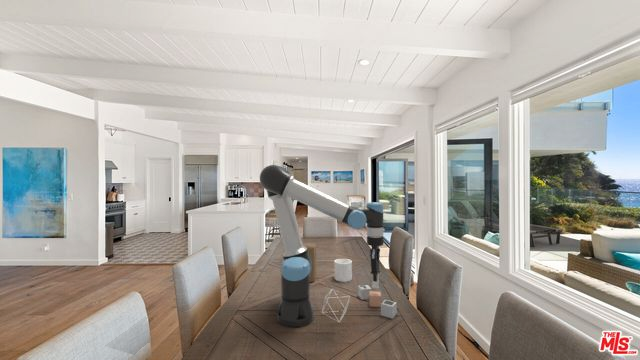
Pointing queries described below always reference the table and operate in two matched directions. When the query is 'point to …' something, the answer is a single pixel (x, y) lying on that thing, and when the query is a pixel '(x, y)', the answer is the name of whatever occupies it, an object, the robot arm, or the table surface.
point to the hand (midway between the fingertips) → (375, 287)
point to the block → (312, 258)
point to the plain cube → (375, 299)
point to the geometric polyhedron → (340, 301)
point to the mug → (343, 270)
